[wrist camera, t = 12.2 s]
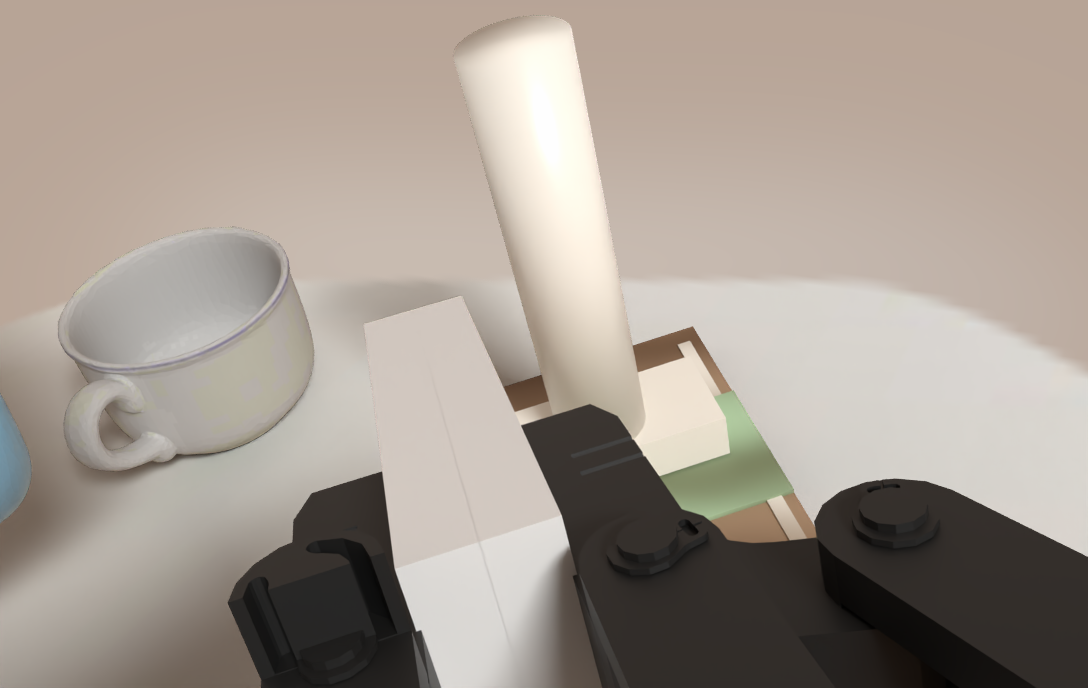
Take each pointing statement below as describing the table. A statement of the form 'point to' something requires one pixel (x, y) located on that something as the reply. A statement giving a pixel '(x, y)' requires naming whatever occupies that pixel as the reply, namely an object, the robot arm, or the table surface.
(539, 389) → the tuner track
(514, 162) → the tuning slider
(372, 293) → the table surface
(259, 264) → the teacup
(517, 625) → the robot arm
